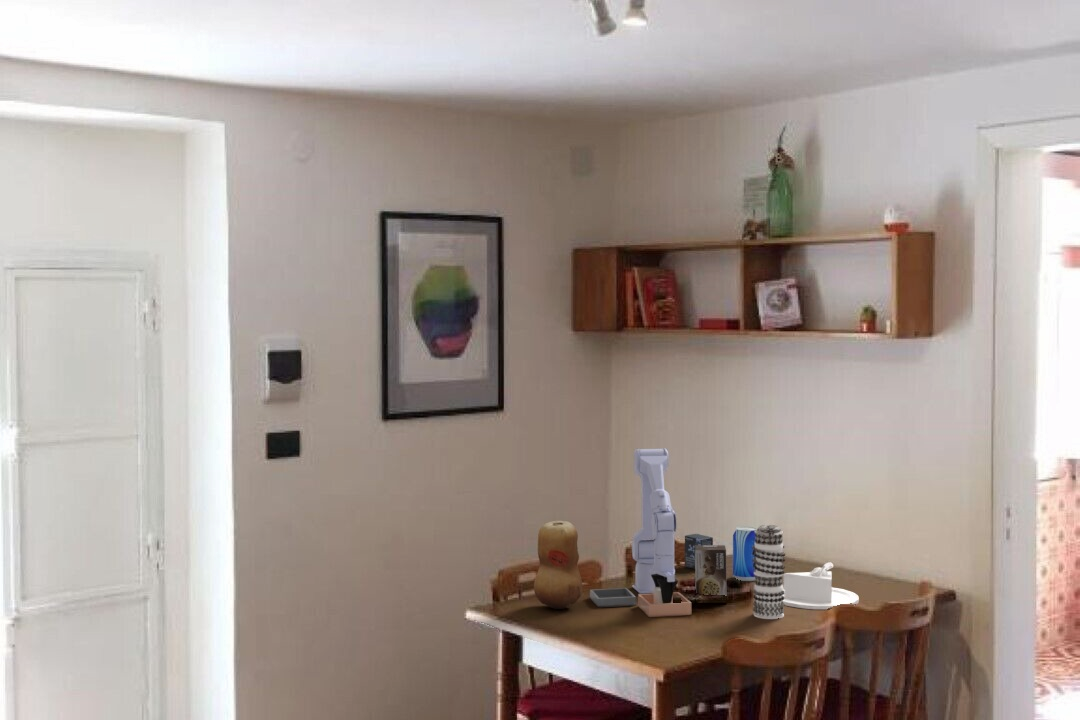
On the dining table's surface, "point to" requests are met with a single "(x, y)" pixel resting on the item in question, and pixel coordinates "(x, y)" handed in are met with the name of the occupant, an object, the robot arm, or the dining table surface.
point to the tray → (612, 597)
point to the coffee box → (710, 569)
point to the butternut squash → (558, 565)
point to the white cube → (658, 596)
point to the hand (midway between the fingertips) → (664, 601)
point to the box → (690, 547)
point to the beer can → (743, 553)
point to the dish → (815, 590)
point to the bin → (663, 606)
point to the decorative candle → (768, 572)
